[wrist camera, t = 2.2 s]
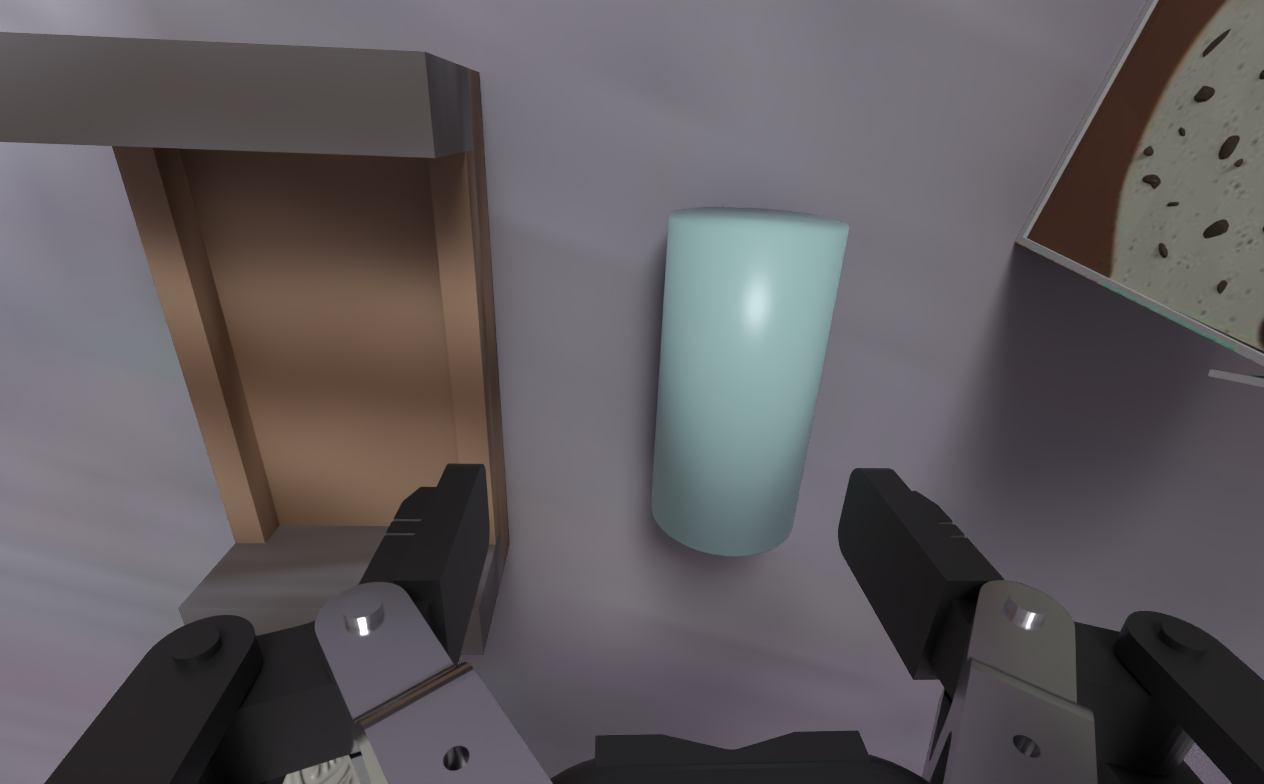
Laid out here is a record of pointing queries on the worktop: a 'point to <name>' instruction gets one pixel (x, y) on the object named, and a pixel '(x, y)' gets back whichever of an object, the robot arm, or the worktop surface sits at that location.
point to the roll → (740, 371)
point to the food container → (1172, 175)
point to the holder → (300, 284)
